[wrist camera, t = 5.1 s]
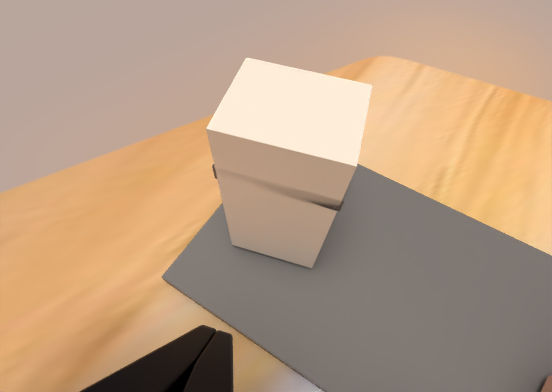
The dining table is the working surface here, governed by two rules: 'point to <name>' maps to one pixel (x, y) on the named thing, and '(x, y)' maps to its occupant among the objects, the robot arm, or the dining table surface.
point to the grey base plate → (386, 297)
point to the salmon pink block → (547, 385)
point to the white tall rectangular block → (286, 156)
